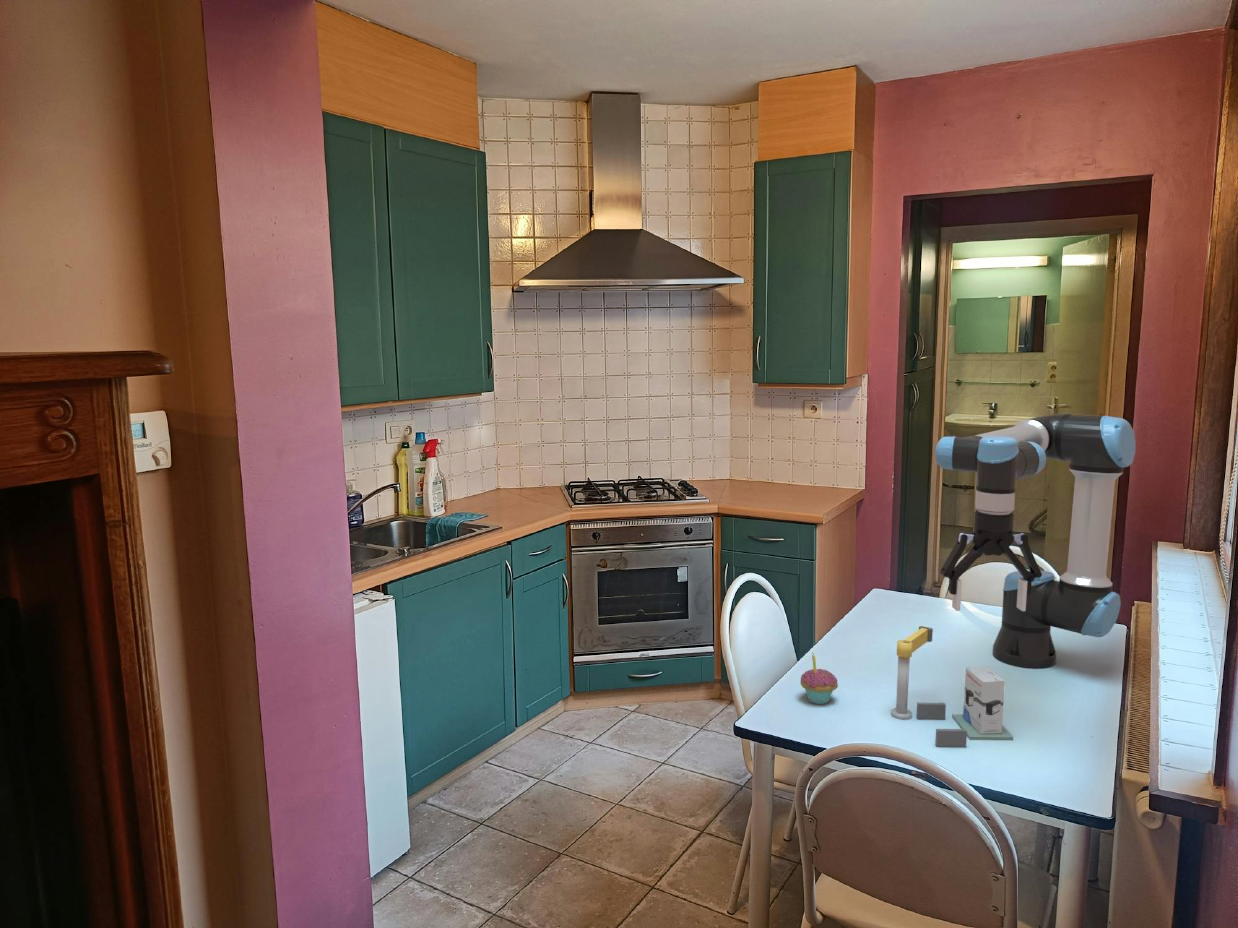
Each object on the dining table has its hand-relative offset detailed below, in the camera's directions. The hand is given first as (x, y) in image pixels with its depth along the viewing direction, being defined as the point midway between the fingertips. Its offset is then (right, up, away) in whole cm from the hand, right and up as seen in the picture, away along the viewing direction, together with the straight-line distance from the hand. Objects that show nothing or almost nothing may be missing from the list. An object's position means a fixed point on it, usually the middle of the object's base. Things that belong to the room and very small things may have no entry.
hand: (988, 609), depth 184 cm
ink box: (0, -26, +4) cm, 26 cm away
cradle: (-12, -27, +4) cm, 29 cm away
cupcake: (-32, -25, +19) cm, 44 cm away
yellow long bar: (-11, -11, +13) cm, 20 cm away
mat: (0, -26, +4) cm, 27 cm away
